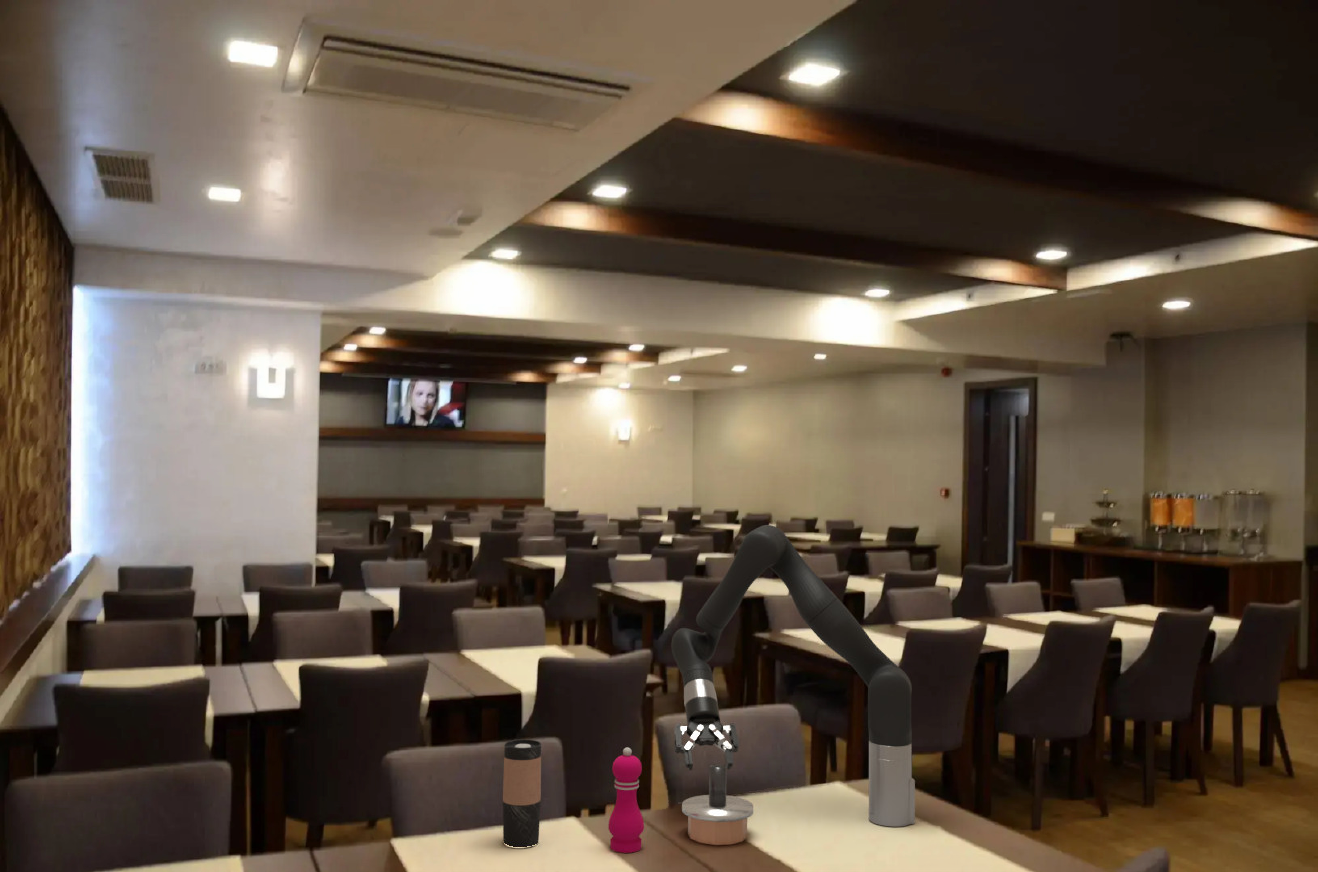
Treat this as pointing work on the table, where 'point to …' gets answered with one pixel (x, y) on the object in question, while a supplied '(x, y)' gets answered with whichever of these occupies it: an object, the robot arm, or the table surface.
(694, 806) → the steel lid
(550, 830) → the table surface
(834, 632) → the robot arm
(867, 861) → the table surface
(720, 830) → the terracotta bowl
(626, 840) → the pepper mill
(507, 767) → the travel mug
